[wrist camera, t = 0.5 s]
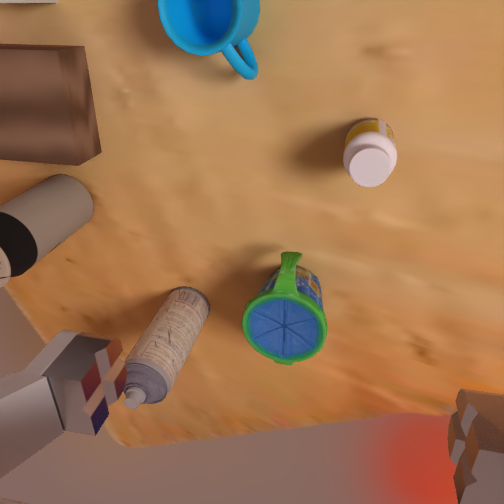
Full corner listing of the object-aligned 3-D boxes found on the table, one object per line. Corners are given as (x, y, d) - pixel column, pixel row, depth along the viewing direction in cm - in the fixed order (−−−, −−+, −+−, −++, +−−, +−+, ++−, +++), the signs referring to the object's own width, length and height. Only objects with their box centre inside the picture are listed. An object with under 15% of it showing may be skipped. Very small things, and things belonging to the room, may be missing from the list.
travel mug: (36, 175, 64) (-67, 230, 49) (84, 171, 62) (-8, 227, 47) (55, 226, 68) (-36, 291, 53) (101, 224, 66) (21, 291, 51)
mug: (172, -6, 49) (140, -7, 42) (232, -57, 46) (208, -67, 39) (233, 92, 53) (212, 106, 46) (292, 52, 49) (280, 61, 42)
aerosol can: (163, 286, 69) (96, 380, 52) (204, 285, 67) (149, 382, 50) (173, 322, 72) (114, 422, 55) (213, 322, 70) (164, 426, 53)
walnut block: (-8, 43, 57) (-46, 47, 52) (85, 45, 54) (56, 50, 49) (17, 145, 63) (-13, 158, 58) (102, 151, 61) (78, 165, 55)
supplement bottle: (336, 149, 53) (330, 176, 45) (362, 107, 50) (361, 129, 42) (375, 171, 54) (377, 203, 45) (403, 132, 51) (410, 158, 42)
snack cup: (264, 230, 61) (246, 268, 52) (342, 244, 59) (338, 286, 50) (253, 320, 68) (236, 367, 60) (322, 335, 67) (315, 385, 58)
